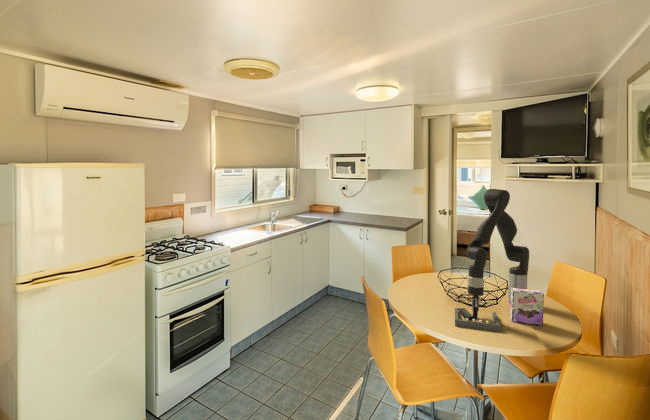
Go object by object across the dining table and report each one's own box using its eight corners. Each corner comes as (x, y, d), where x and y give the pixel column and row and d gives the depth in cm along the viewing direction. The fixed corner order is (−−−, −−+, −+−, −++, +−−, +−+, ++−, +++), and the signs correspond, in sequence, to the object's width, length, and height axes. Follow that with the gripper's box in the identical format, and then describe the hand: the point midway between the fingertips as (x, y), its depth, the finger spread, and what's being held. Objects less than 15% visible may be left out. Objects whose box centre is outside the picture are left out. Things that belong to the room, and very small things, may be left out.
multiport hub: (465, 321, 172) (465, 316, 172) (456, 311, 187) (456, 307, 187) (474, 321, 172) (474, 317, 172) (464, 312, 187) (464, 307, 186)
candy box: (511, 322, 171) (512, 290, 170) (510, 318, 176) (510, 287, 176) (543, 325, 166) (544, 293, 165) (540, 321, 171) (541, 290, 170)
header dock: (454, 313, 183) (454, 305, 183) (495, 318, 176) (496, 310, 176) (454, 325, 165) (455, 317, 165) (500, 332, 158) (501, 323, 157)
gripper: (467, 281, 181) (466, 313, 182) (468, 287, 169) (467, 321, 169) (482, 282, 178) (482, 314, 179) (484, 289, 166) (484, 323, 167)
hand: (475, 318), depth 174 cm, fingers closed
